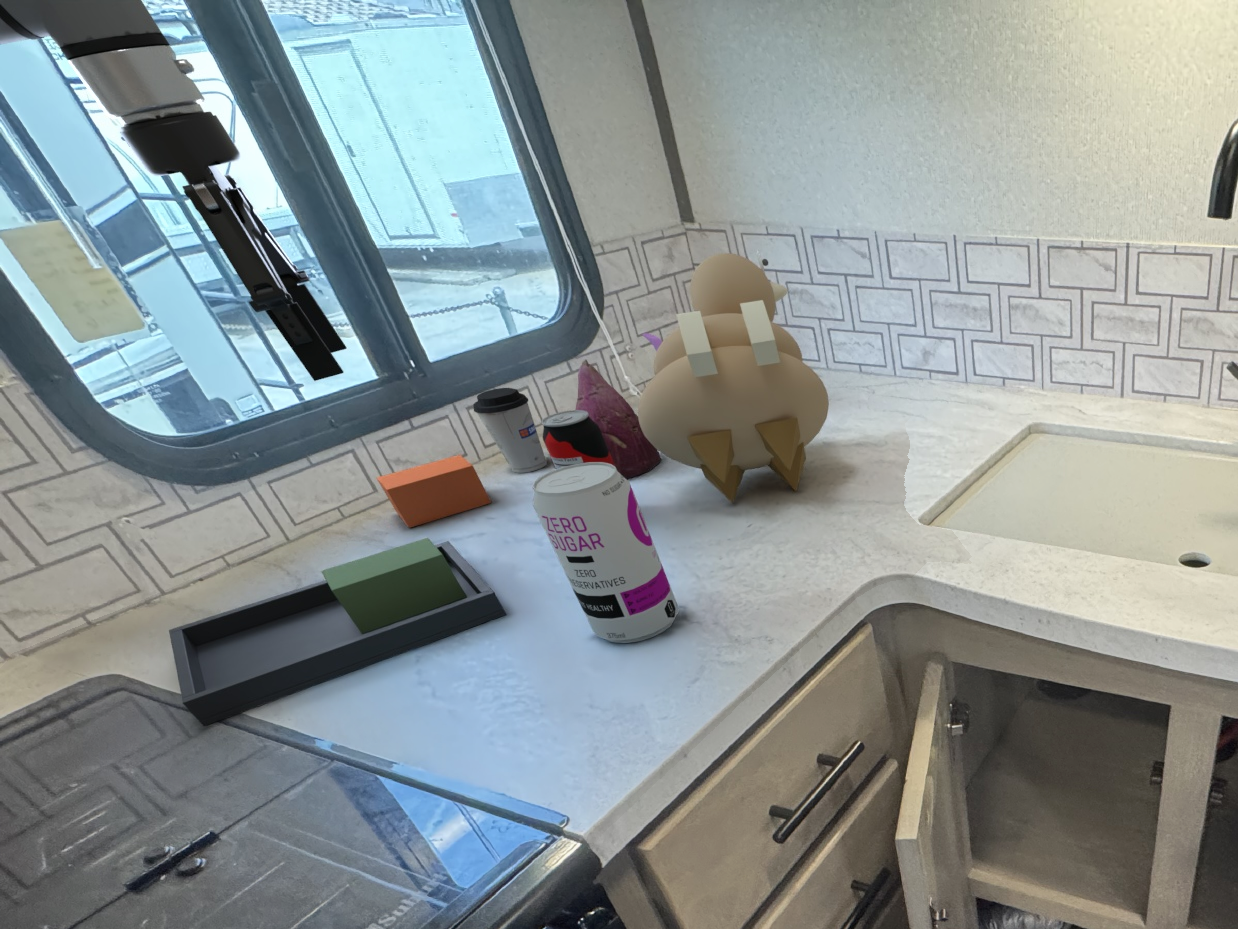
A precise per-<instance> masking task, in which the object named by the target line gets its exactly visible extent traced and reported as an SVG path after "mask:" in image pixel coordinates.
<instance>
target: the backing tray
mask: <svg viewBox="0 0 1238 929" xmlns="http://www.w3.org/2000/svg"><path fill="white" fill-rule="evenodd" d="M434 545H435V546H436V547H437V549H438V550H439V551H440V552H441V553H442V555H443V556H444V558H445V560H446V561H447V563H448V565H449V567H450V568H451V570H452V572H453V573H454V575H455V577H456V579H457V580H458V582H459V584H460V586H461V587H462V589H463V591H464V593H465V594H466V596H467V597H466V598H464V599H461V600H458V601H455V602H452V603H449V604H447V605H444V606H441V607H438V608H435V609H432V610H429V611H427V612H424V613H421V614H418V615H415V616H412V617H410V618H407V619H404V620H401V621H398V622H395V623H393V624H390V625H387V626H384V627H381V628H378V629H376V630H373V631H370V632H367V633H364V634H362V633H361V632H360V631H359V629H358V628H357V626H356V625H355V623H354V622H353V621H352V619H351V618H350V616H349V615H348V613H347V612H346V610H345V609H344V608H343V606H342V605H341V603H340V602H339V600H338V599H337V597H336V596H335V595H334V593H333V592H332V590H331V588H330V587H329V585H328V583H327V581H326V579H324V580H320V581H318V582H315V583H312V584H308V585H306V586H302V587H299V588H296V589H293V590H290V591H286V592H284V593H280V594H277V595H274V596H271V597H267V598H264V599H261V600H258V601H255V602H251V603H249V604H245V605H243V606H240V607H236V608H233V609H230V610H227V611H224V612H221V613H218V614H215V615H211V616H208V617H205V618H202V619H199V620H195V621H193V622H189V623H186V624H182V625H180V626H176V627H173V628H171V629H168V633H169V638H170V643H171V648H172V653H173V659H174V664H175V669H176V670H175V671H176V674H177V679H178V680H177V681H178V685H179V691H180V696H181V703H182V704H183V706H184V707H185V708H186V709H187V710H188V711H189V713H191V714H192V715H193V716H194V717H195V719H196V720H197V721H198V722H199V723H200V724H201V725H202V726H203V727H205V726H209V725H211V724H213V723H216V722H219V721H221V720H225V719H227V718H231V717H233V716H236V715H239V714H241V713H243V712H247V711H249V710H252V709H255V708H256V707H260V706H262V705H265V704H268V703H270V702H273V701H276V700H278V699H281V698H284V697H287V696H290V695H293V694H295V693H298V692H300V691H303V690H305V689H308V688H312V687H314V686H317V685H320V684H322V683H325V682H328V681H331V680H333V679H335V678H338V677H341V676H344V675H346V674H348V673H351V672H354V671H357V670H361V669H362V668H365V667H368V666H371V665H373V664H376V663H378V662H382V661H384V660H387V659H390V658H392V657H396V656H397V655H400V654H403V653H407V652H409V651H411V650H414V649H418V648H419V647H423V646H425V645H427V644H431V643H433V642H436V641H438V640H439V641H440V640H441V639H444V638H446V637H450V636H452V635H455V634H457V633H460V632H463V631H466V630H468V629H471V628H473V627H476V626H479V625H482V624H484V623H487V622H490V621H493V620H495V619H498V618H501V617H504V616H506V615H507V612H506V611H505V609H504V607H503V605H502V604H501V602H500V600H499V598H498V597H497V595H496V592H495V591H494V590H493V589H492V587H490V586H489V584H488V583H487V582H486V581H485V580H484V579H483V577H481V575H479V573H478V572H477V571H476V570H475V569H474V568H473V567H472V565H470V563H469V562H468V561H467V560H466V559H465V558H464V556H463V555H462V554H461V553H460V552H459V551H458V550H457V549H456V547H455V546H453V545H452V543H451V542H450V541H449V540H447V541H443V542H441V543H437V544H434Z"/></svg>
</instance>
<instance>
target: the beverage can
mask: <svg viewBox="0 0 1238 929" xmlns="http://www.w3.org/2000/svg"><path fill="white" fill-rule="evenodd" d="M541 425H542V426H543V430H542V441H543V443H544V445H545V447H546V449H547V452H548V454H549V456H550V458H551V461H552V464H553V466H554V467H555V470H556V469H559V468H562V467H566V466H570V465H574V464H580V463H588V462H603V463H608V464H612V465H613V466H615V465H614V462H613V460H612V457H611V455H610V452H609V450H608V447H607V445H606V442H605V440H604V437H603V435H602V432H601V430H600V428H599V426H598V425H597V424H596V423H595V422H594V421H593V420H592V419H591V418H590V417H589V414H588V412H586V411H583V410H575V409H571V410H570V409H569V410H564V411H559V412H555V413H552V414H550V415H547V416H546V417H544V418H543V419H541Z"/></svg>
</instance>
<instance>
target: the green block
mask: <svg viewBox="0 0 1238 929" xmlns="http://www.w3.org/2000/svg"><path fill="white" fill-rule="evenodd" d="M435 545H436V544H434V542H432V540H431V539H430V538H429V537H425V538H421V539H419V540H416V541H412V542H410V543H406V544H403V545H399V546H396V547H392V548H390V549H386V550H384V551H380V552H377V553H374V554H371V555H368V556H365V557H364V556H363V557H362V558H358V559H354V560H352V561H348V562H345V563H342V564H339V565H336V566H333V567H329V568H326V569H323V570H321V574H322V576H323V577H324V580H326V581H327V583H328V585H329V587H330V588H331V590H332V592H333V593H334V595H335V596H336V597H337V599H338V600H339V602H340V603H341V605H342V606H343V608H344V609H345V610H346V612H347V613H348V615H349V616H350V618H351V619H352V621H353V622H354V623H355V625H356V626H357V628H358V629H359V631H360V632H361V633H362V634H364V633H367V632H370V631H373V630H376V629H378V628H381V627H384V626H387V625H390V624H393V623H395V622H398V621H401V620H404V619H407V618H410V617H412V616H415V615H418V614H421V613H424V612H427V611H429V610H432V609H435V608H438V607H441V606H444V605H447V604H449V603H452V602H455V601H458V600H461V599H464V598H466V597H467V596H466V594H465V593H464V591H463V589H462V587H461V586H460V584H459V582H458V580H457V579H456V577H455V575H454V573H453V572H452V570H451V568H450V567H449V565H448V563H447V561H446V560H445V558H444V556H443V555H442V553H441V552H440V551H439V550H438V549H437V547H436V546H435Z"/></svg>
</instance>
